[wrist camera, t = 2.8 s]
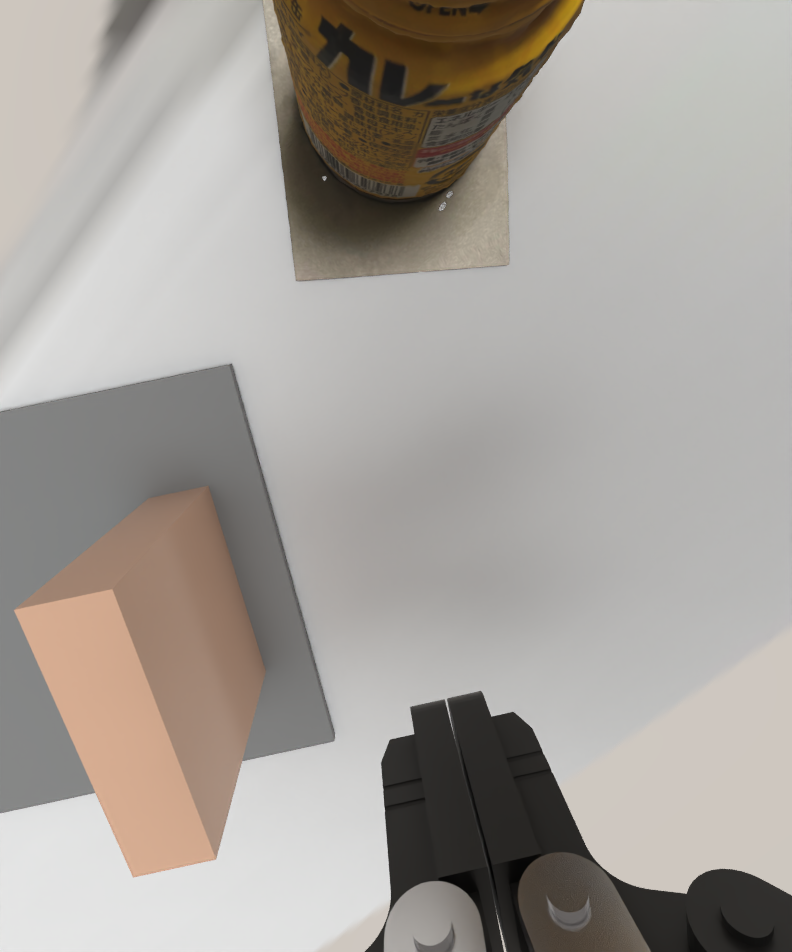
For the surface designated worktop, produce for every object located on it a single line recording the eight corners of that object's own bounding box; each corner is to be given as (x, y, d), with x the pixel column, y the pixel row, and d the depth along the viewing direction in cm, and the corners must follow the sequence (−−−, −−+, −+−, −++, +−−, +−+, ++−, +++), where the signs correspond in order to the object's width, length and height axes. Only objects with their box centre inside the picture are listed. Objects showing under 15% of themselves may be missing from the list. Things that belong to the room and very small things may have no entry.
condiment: (501, -32, 16) (839, -866, 5) (507, 265, 19) (746, 171, 7) (260, -19, 16) (15, -880, 5) (296, 281, 18) (194, 210, 7)
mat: (231, 364, 19) (229, 365, 19) (334, 734, 23) (334, 741, 23) (-223, 458, 19) (-235, 460, 18) (-32, 813, 23) (-39, 821, 23)
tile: (208, 485, 20) (112, 589, 12) (265, 671, 22) (215, 859, 14) (144, 499, 20) (7, 611, 12) (208, 683, 22) (127, 878, 14)
